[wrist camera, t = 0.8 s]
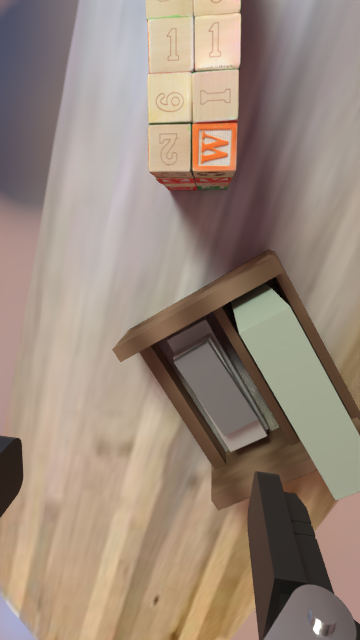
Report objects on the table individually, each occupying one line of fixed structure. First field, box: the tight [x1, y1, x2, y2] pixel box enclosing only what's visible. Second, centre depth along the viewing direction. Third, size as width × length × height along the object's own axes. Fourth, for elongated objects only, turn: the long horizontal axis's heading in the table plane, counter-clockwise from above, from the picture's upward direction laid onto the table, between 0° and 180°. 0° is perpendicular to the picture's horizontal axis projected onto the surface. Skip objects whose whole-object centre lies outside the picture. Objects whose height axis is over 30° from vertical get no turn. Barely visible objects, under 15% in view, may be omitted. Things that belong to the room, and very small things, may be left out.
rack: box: [112, 250, 360, 510], centre depth 37 cm, size 18×21×7 cm
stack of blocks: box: [146, 0, 241, 190], centre depth 27 cm, size 21×6×12 cm, turn 0°
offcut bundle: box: [167, 316, 269, 452], centre depth 39 cm, size 5×15×5 cm, turn 30°
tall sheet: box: [231, 282, 360, 500], centre depth 32 cm, size 4×16×14 cm, turn 31°
